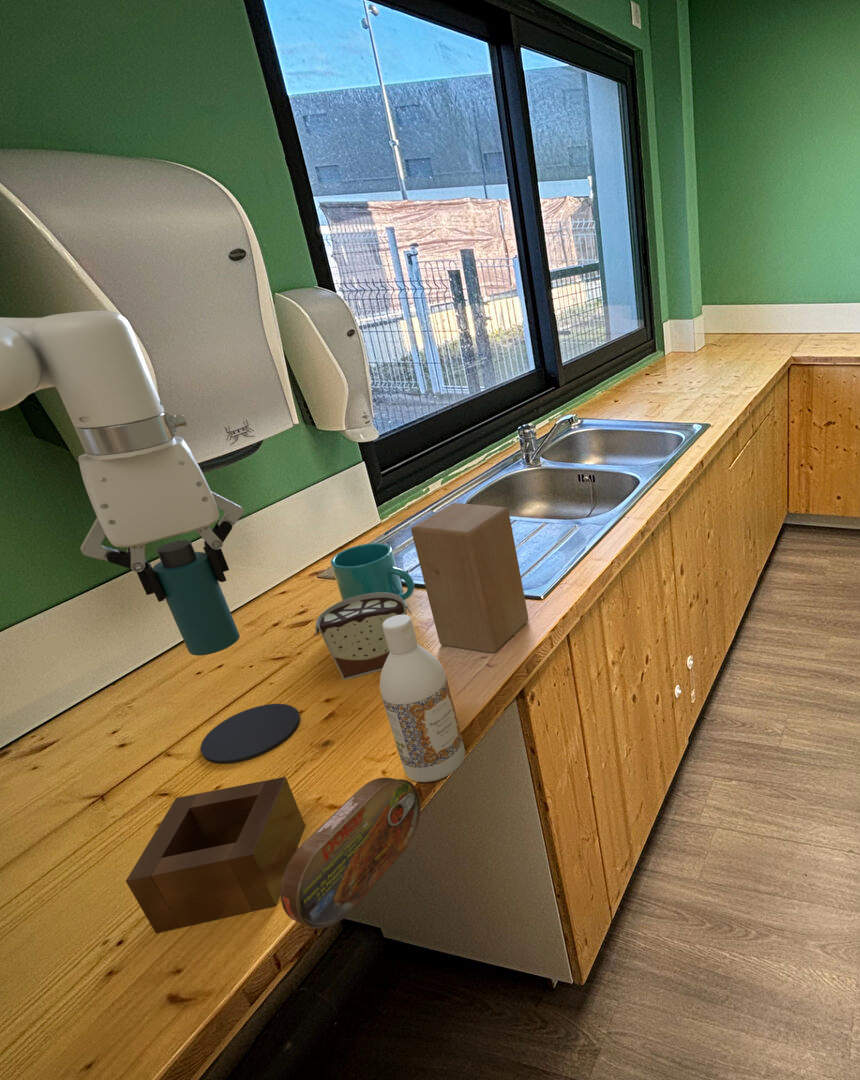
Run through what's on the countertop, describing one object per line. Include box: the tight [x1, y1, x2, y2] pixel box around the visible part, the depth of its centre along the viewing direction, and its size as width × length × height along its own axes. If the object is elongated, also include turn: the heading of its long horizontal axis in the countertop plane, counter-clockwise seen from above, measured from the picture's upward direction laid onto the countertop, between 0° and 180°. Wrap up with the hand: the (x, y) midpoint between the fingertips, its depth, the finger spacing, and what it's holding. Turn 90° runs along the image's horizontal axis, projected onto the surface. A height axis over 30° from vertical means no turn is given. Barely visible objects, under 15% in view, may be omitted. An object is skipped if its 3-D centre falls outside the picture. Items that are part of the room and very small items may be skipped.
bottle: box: [152, 539, 240, 656], centre depth 81 cm, size 5×5×13 cm
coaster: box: [200, 703, 301, 765], centre depth 90 cm, size 11×11×1 cm
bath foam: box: [379, 614, 466, 783], centre depth 80 cm, size 7×7×20 cm
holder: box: [125, 776, 306, 934], centre depth 69 cm, size 10×10×7 cm
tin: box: [279, 777, 422, 930], centre depth 68 cm, size 15×3×8 cm, turn 161°
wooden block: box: [410, 502, 529, 654], centre depth 106 cm, size 10×10×20 cm
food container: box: [314, 592, 412, 681], centre depth 102 cm, size 12×6×10 cm, turn 115°
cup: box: [330, 542, 416, 603], centre depth 114 cm, size 9×12×11 cm
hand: (190, 586), depth 81 cm, fingers closed on bottle, 5 cm apart
